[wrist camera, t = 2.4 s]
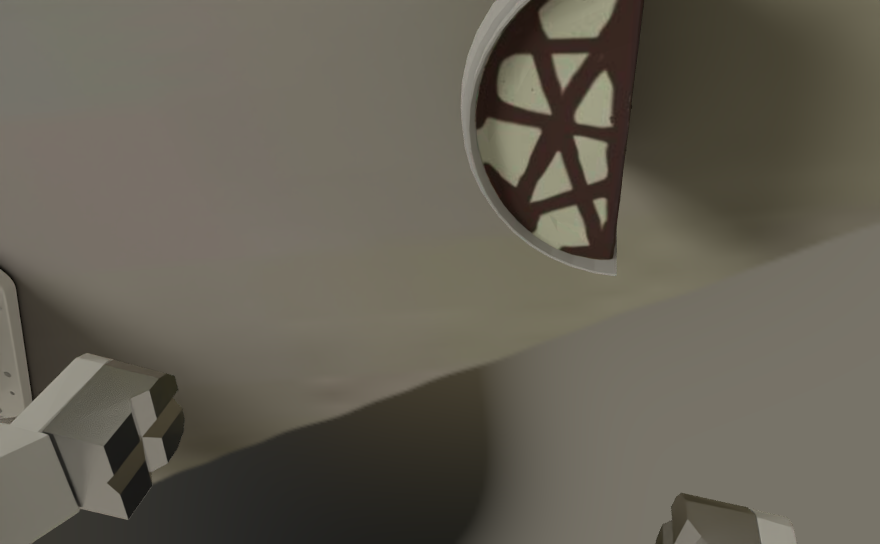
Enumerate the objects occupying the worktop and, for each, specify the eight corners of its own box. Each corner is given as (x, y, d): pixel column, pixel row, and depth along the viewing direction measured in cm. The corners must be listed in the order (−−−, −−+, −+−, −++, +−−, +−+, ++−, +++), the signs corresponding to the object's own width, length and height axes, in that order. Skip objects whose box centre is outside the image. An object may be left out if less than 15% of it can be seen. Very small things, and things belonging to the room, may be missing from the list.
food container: (491, -106, 27) (441, -70, 19) (644, -111, 26) (660, -75, 18) (492, 166, 34) (456, 275, 26) (613, 172, 33) (614, 288, 25)
